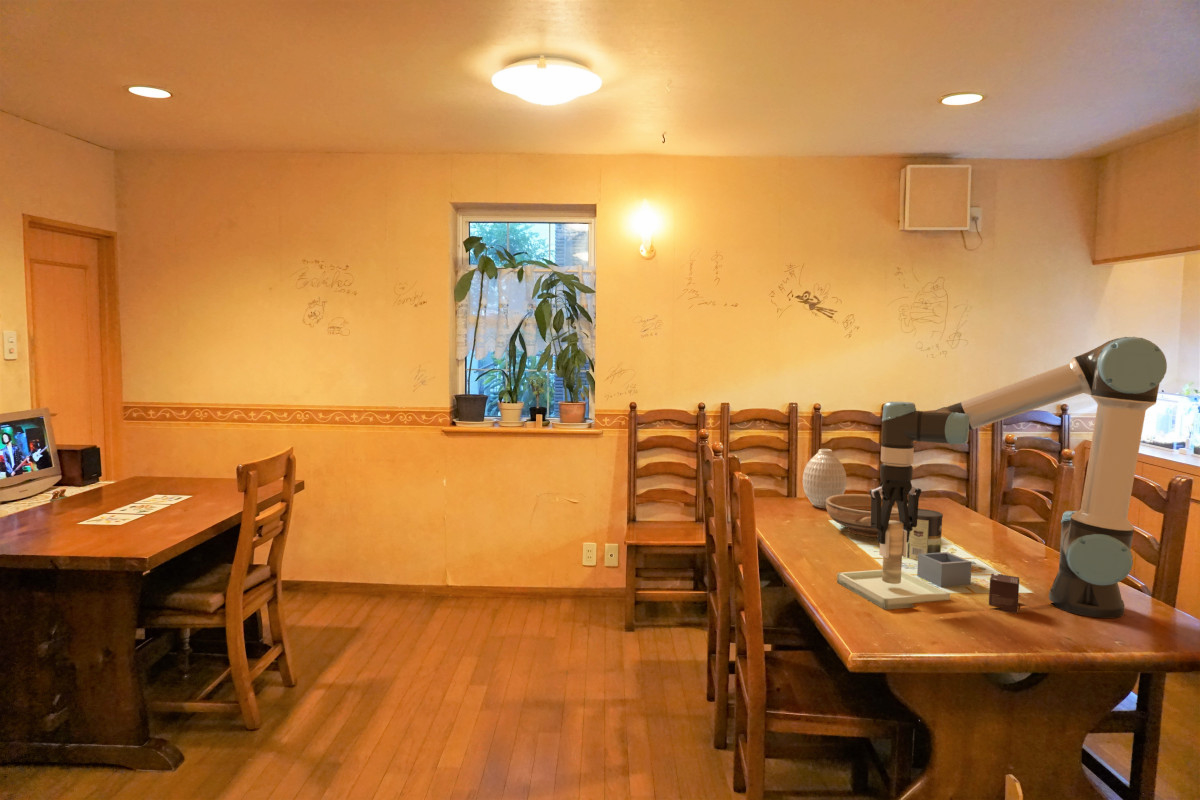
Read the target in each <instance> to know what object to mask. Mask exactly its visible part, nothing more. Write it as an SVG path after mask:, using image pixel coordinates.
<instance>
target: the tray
mask: <svg viewBox="0 0 1200 800" xmlns="http://www.w3.org/2000/svg"><path fill="white" fill-rule="evenodd" d="M882 570H883V568H882V569H873V570H872V569H870V570H860V571H859V570H857V571H845V572H844V571H843V572H837V574H836V575H837V576H836V584H839V585H840V586H843V587H844V588H846V589H848V590H849V591H851V592H852V593H855V594H857V595H859V597H862V598H863V599H865V600H867V601H869V602H871V603H872V604H874V605H876V606H878V607H879V608H881V609H883V610H884V611H885V610H886V611H887V610H895V609H898V610H899V609H906V608H907V609H909V608H917V606H916V605H914V604H920V603H921V604H922V603H931V602H943V601H950V599H951V598H950V597H951V593H950V592H948V591H946V590H943V589H941V587H940V588H939V587H938V586H935V585H934V584H932V583H930V582H928V581H926V580H925V581H924V579H921V578H919V577H916V576H914V575H912V574H909V573H907V572H905V571H903V570H901V583H899V584H891V583H886V582H884V581H882Z"/></svg>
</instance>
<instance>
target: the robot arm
mask: <svg viewBox="0 0 1200 800" xmlns="http://www.w3.org/2000/svg"><path fill="white" fill-rule="evenodd" d="M1167 368H1168V362H1167V358H1166V356H1165V353H1164V352H1163V351H1162V349H1161V348H1160V347H1159V346H1158V345H1157V344H1155V343H1154V342H1152V341H1150V340H1149V339H1146V338H1143V337H1137V336H1124V337H1119V338H1114V339H1111V340H1109V341H1106V342H1104V343H1103V344H1101V345H1099V346H1097V347H1095V348H1093V349H1091V350H1088V351H1087V352H1084V353H1082V354H1080V355H1077V356H1075V357H1074V356H1073V357H1072V358H1071V360H1070V362H1069V363H1067V364H1063V365H1061V366H1059V367H1056V368H1052V369H1050V370H1047V371H1045V372H1042V373H1039V374H1038V373H1037V374H1035V375H1033V376H1030V377H1028V378H1024V379H1022V380H1019V381H1017V382H1014V383H1010V384H1008V385H1004V386H1002V387H1000V388H997V389H996V388H995V389H994V390H991V391H988V392H985V393H982V394H980V395H979V394H978V395H977V396H974V397H973V396H972V397H971V398H968V399H966V400H963V401H960V402H957V403H954V404H952V405H948V406H944V407H940V408H938V409H936V410H935V411H922V410H921V411H920V410H917V407H916V404H915V403H914V402H910V401H907V402H906V401H888V402H885V403H884V404H883V408H882V418H881V439H880V440H881V442H880V443H881V447H880V461H881V464H880V466H879V469H880V470H879V477H880V483H879V485H878V487H876V488H870V489H869V491H868V492H869V495H870V496H871V527H873V528H875V529H877V530H878V537H877V543H879V556H881V557H882V558H883V557H885V558H889V538H890V532H888V531H887V528H888V523H889V519H890V515H891V511H892V506H893V505H894V504H895V501H896V503H897V507H898V513H899V520H900V522H902V523H904V525H903V546H902V558H903V557H905V556H906V545H907V542H908V541H909V531H912V530H913V527H916V526H917V518H918V509H919V501H920V500H919V499H920V496H921V493H922V489H921V488H919V487H914V486H913V484H912V482H911V481H912V480H913V473H914V472H913V471H914V470H913V468H914V467H913V465H912V464H914V454H915V453H914V452H915V451H914V450H915V449H914V447H915V445H914V443H915V442H919V443H920V442H922V443H923V442H924V443H936V444H948V445H966V444H968V442H969V436H970V435H969V434H970V432H971V431H972V430H975V429H978V428H981V427H985V426H988V425H991V424H993V423H996V422H999V421H1003V420H1005V419H1008V418H1011V417H1014V416H1018V415H1021V414H1023V413H1027V412H1030V411H1033V410H1035V409H1038V408H1042V407H1044V406H1045V407H1046V406H1048V405H1051V404H1054V403H1057V402H1060V401H1064V400H1065V399H1069V398H1072V397H1074V396H1078V395H1081V394H1087V395H1089V396H1090V397H1091V398H1092V399H1093V400H1094V402H1095V403H1096V404H1097V405H1096V406H1097V407H1096V413H1095V419H1094V426H1093V432H1092V437H1091V438H1092V439H1091V443H1090V450H1089V455H1088V462H1087V469H1086V475H1085V480H1084V485H1083V490H1082V491H1083V492H1082V499H1081V504H1080V509H1079V510H1066V511H1064V512H1063V514H1062V517H1061V520H1060V525H1061V530H1060V531H1061V532H1060V546H1059V547H1060V548H1059V549H1060V550H1059V563H1058V572H1057V574H1056V576H1055V578H1054V580H1053V582H1052V586H1051V587H1050V588H1049V591H1048V599H1049V600H1050V601H1051V602H1050V605H1052V606H1053V607H1055V608H1057V609H1060V610H1062V611H1065V612H1067V613H1072V614H1076V615H1080V616H1085V617H1089V618H1090V617H1091V618H1099V619H1101V618H1102V619H1115V618H1116V619H1117V618H1120V617H1122V616H1124V613H1125V603H1124V600H1123V599H1122V595H1121V590H1120V586H1119V582H1121V581H1123V580H1124V579H1126V578H1127V577H1128V576H1129V574H1130V573H1131V571H1132V568H1133V563H1134V561H1133V555H1132V552H1131V549H1132V544H1133V537H1134V532H1135V526H1134V525H1133V524H1132V523H1131V521H1130V520H1129V519H1128V516H1129V509H1130V506H1131V505H1130V504H1131V499H1132V498H1131V497H1132V492H1133V486H1134V480H1135V475H1136V469H1137V464H1138V457H1139V451H1140V445H1141V440H1142V433H1143V429H1144V422H1145V417H1146V411H1147V410H1148V409H1149V408H1151V407H1152V406H1155V405H1156V404H1157V399H1158V394H1159V387H1160V385H1161V383H1162V381H1163V379H1164V378H1165V375H1166V373H1167ZM881 496H883V497H882V507H881ZM888 500H889V501H888ZM907 504H908V506H907Z"/></svg>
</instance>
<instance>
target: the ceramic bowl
mask: <svg viewBox="0 0 1200 800" xmlns="http://www.w3.org/2000/svg"><path fill="white" fill-rule="evenodd" d="M882 497H883V495H882V496H881V507H882ZM888 501H889V500H888ZM907 506H908V504H907ZM825 509H826V511H827V513H828V516H830V518H831V520H833V521H834V522H836V523H838V524H839V525H841V526H843V527H846V528H847V530H848V531H849V532H850V533H852V534H855V535H857V536H862V537H870V538H871V537H872V538H874V537H875V538H878V530H877V529H875V528H873V527H871V496H870V494H867V493H866V494H864V493H861V494H860V493H859V494H857V493H849V494H848V493H846V494H845V493H844V494H843V495H835V496H831V497H828V498H827V499H826V508H825ZM889 520H892V521H899V522H900V520H899V513H898V507H897V503H896V501H895V504H894V505H893V506H892V511H891V515H890V519H889Z"/></svg>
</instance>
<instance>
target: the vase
mask: <svg viewBox="0 0 1200 800" xmlns="http://www.w3.org/2000/svg"><path fill="white" fill-rule="evenodd" d="M802 487H803V490H804V494H805V496H806V497H807V498H808V500H809V502H810V503H811V504H812V505H813V506H814V507H815V508H819V509H827V508H826V499H827V498H828V497H831V496H835V495H843V494H845V492H846V487H847V472H846V470H845V467H844V465H843V463H842V462H841V460H839V458H838V457H837V456H836V455H835V454H834V452H833V450H832V449H829V448H820V449H818V451H817V452H816V453H815V455H813V456H812V457H811V458H810V459H809V461H807V463H806V465H805V467H804V470H803V474H802Z"/></svg>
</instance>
